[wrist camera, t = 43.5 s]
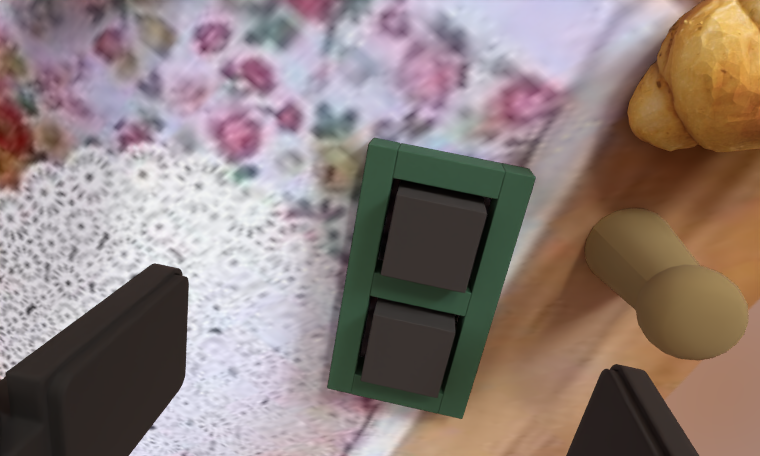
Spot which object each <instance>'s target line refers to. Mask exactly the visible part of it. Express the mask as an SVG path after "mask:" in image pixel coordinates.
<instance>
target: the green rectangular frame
mask: <svg viewBox="0 0 760 456" xmlns="http://www.w3.org/2000/svg"><path fill="white" fill-rule="evenodd" d="M394 178H395V179H399V180H404V181H409V182H414V183H419V184H424V185H429V186H434V187H439V188H443V189H448V190H453V191H458V192H463V193H468V194H473V195H478V196H483V197H488V198H492V200H491V203H490V207H489V211H488V214H487V218H486V221H485V225H484V229H483V232H482V236H481V240H480V243H479V247H478V251H477V254H476V258H475V262H474V265H473V269H472V272H471V276H470V279H469V281H468V285H467V289H466V292H465V293H461V292H457V291H452V290H447V289H443V288H438V287H434V286H429V285H424V284H420V283H415V282H410V281H406V280H401V279H396V278H392V277H387V276H383V275H381V270H382V264H383V260H380V259H379V260H378V258H379V253H380V248H381V243H382V238H383V232H384V227H385V222H386V217H387V212H388V207H389V201H390V196H391V191H392V186H393V181H394ZM535 179H536V177H535V176H534V175H533V173H532V172H531V171H530V169H528V168H523V167H518V166H513V165H508V164H503V163H502V164H501V163H498V162H493V161H488V160H483V159H478V158H473V157H468V156H463V155H458V154H453V153H448V152H443V151H438V150H433V149H428V148H423V147H418V146H413V145H408V144H403V143H401V144H400V143H398V142H393V141H388V140H383V139H378V138H373V139H372V141H371V142H370V143H369V145H368V150H367V156H366V162H365V168H364V174H363V180H362V186H361V191H360V197H359V203H358V209H357V215H356V221H355V227H354V233H353V239H352V245H351V250H350V256H349V262H348V268H347V274H346V280H345V286H344V292H343V298H342V304H341V309H340V315H339V321H338V327H337V333H336V339H335V345H334V351H333V357H332V363H331V368H330V374H329V380H328V386H327V388H328V389H333V390H337V391H341V392H346V393H351V394H354V395H358V396H362V397H367V398H371V399H376V400H380V401H384V402H389V403H393V404H398V405H402V406H406V407H411V408H415V409H420V410H424V411H428V412H433V413H438V414H442V415H446V416H451V417H455V418H459V419H462V418H463V415H464V412H465V409H466V405H467V402H468V399H469V395H470V392H471V389H472V386H473V382H474V379H475V376H476V373H477V369H478V366H479V363H480V359H481V356H482V353H483V350H484V346H485V343H486V340H487V336H488V333H489V330H490V327H491V323H492V320H493V317H494V313H495V310H496V307H497V304H498V300H499V297H500V294H501V290H502V287H503V284H504V281H505V277H506V274H507V271H508V267H509V264H510V261H511V258H512V254H513V251H514V248H515V244H516V241H517V238H518V235H519V231H520V228H521V225H522V221H523V218H524V215H525V212H526V208H527V205H528V202H529V198H530V195H531V192H532V189H533V185H534V182H535ZM371 296H373V297H378V298H382V299H387V300H391V301H396V302H401V303H405V304H410V305H414V306H419V307H424V308H428V309H433V310H437V311H442V312H447V313H451V314H456V315H460V316H459V320H458V323H457V327H456V331H455V336H454V340H453V344H452V347H451V351H450V354H449V358H448V362H447V365H446V369H445V373H444V376H443V380H442V384H441V387H440V391H439V394H438V398H434V397H430V396H425V395H421V394H416V393H412V392H407V391H403V390H399V389H394V388H390V387H385V386H381V385H376V384H372V383H368V382H363V381H361V375H362V370H363V365H364V360H365V357H361V356H360V351H361V346H362V341H363V336H364V330H365V325H366V320H367V315H368V310H369V305H370V299H371ZM359 356H360V357H359Z"/></svg>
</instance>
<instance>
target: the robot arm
mask: <svg viewBox="0 0 760 456" xmlns="http://www.w3.org/2000/svg"><path fill="white" fill-rule="evenodd" d="M188 288H189V282H188V278H187V277H185V276H182V271H181V270H180V269H179V268H174V267H169V266H165V265H160V264H152V265H150V266H149V267H147V268H146V269H145V270H143V271H142V272H141V273H139V274H138V275H137V276H135V277H134V278H133V279H131V280H130V281H129V282H127V283H126V284H125V285H123V286H122V287H120V288H119V289H118V290H116V291H115V292H114V293H112V294H111V295H110V296H108V297H107V298H106V299H104V300H103V301H102V302H100V303H99V304H98V305H96V306H95V307H94V308H92V309H91V310H89V311H88V312H87V313H85V314H84V315H83V316H81V317H80V318H79V319H77V320H76V321H75V322H73V323H72V324H71V325H69V326H68V327H67V328H65V329H64V330H63V331H61V332H60V333H58V334H57V335H56V336H54V337H53V338H52V339H50V340H49V341H48V342H46V343H45V344H44V345H42V346H41V347H40V348H38V349H37V350H36V351H34V352H33V353H31V354H30V355H29V356H27V357H26V358H25V359H23V360H22V361H21V362H19V363H18V364H17V365H15V366H14V367H13V368H11V369H10V370H9V371H7V372H6V377H5V378H4V379H2V380H1V381H0V456H129V455H130V453H131V452H132V451H133V449H134V448H135V447H136V446H137V444H138V443H139V442H140V440H141V439H142V438H143V436H144V435H145V434H146V433H147V431H148V430H149V429H150V427H151V426H152V425H153V423H154V422H155V421H156V420H157V418H158V417H159V416H160V414H161V413H162V412H163V410H164V409H165V408H166V407H167V405H168V404H169V403H170V401H171V400H172V399H173V397H174V396H175V395H176V394H177V392H178V391H179V389H180V388H181V386H182V384H183V381H184V378H185V370H186V342H187V315H188ZM566 456H699V455H698V453H697V452H696V450H695V448H694V447H693V445H692V444H691V442H690V440H689V439H688V438H687V436H686V434H685V433H684V431H683V429H682V428H681V426H680V425H679V423H678V422H677V420H676V418H675V417H674V415H673V414H672V412H671V411H670V409H669V408H668V406H667V404H666V403H665V401H664V399H663V398H662V396H661V395H660V393H659V392H658V390H657V388H656V387H655V385H654V384H653V382H652V381H651V379H650V377H649V376H648V374H647V373H646V372H645V371H644V370H641V369H636V368H632V367H627V366H622V365H618V364H616V365H613V366H612V367H611V368H610V370H609V369H604V370H603V371H602V372H601V374H600V377H599V379H598V381H597V384H596V386H595V389H594V391H593V393H592V396H591V398H590V400H589V403H588V405H587V408H586V410H585V412H584V415H583V417H582V420H581V422H580V424H579V427H578V429H577V431H576V434H575V436H574V439H573V441H572V443H571V446H570V448H569V451H568V453H567V455H566Z"/></svg>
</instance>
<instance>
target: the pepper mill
mask: <svg viewBox="0 0 760 456" xmlns="http://www.w3.org/2000/svg"><path fill="white" fill-rule="evenodd" d="M585 256H586V262H587V264H588V266H589V267H590V269H591V271H592V272H593V273H594V274H595V275H596V276H597V277H599V278H600V279H601V280H602V281H603V282H604V283H605V284H607V285H608V286H609V287H610V288H611V289H612V290H613V291H615V292H616V293H617V294H618V295H619V296H620V297H621V298H623V299H624V300H625V301H626V302H627V303H628V304H629V305H631V306H632V307H633V308H634V309H635V310H636V313H637V320H638V324H639V326H640V328H641V329H642V331H643V333H644V335H645V336H646V338H647V339H648V340H649V341H650V342H651V343H652V344H653V345H655V346H656V347H657V348H658V349H660V350H661V351H662V352H664V353H666V354H668V355H671V356H674V357H676V358H680V359H688V360H703V359H710V358H713V357H716V356H718V355H721V354H723V353H725V352H727V351H728V350H729V349H731V348H732V347H733V346H735V345H736V344H737V343H738V341H739V340H740V339H741V337H742V336H743V335H744V333H745V330H746V327H747V324H748V304H747V302H746V300H745V299H744V297H743V295H742V293H741V291H740V289H739V288H738V286H737V285H735V284H734V283H733V282H732V281H731V280H729V279H728V278H727V277H726V276H724V275H723V274H722V273H720V272H717V271H715V270H712V269H709V268H707V267H703V266H700V265H699V263H698V262H697V261H696V259H695V258H694V257H693V256H692V254H691V253H690V252H689V250H688V249H687V248H686V246H685V245H684V244H683V243H682V241H681V240H680V239H679V237H678V236H677V235H676V233H675V232H674V231H673V230H672V228H671V227H670V226H669V224H668V223H667V222H666V221H665V220H664V219H663V218H661V217H660V216H659V215H658V214H657V213H654V212H651V211H649V210H646V209H640V208H628V209H623V210H619V211H615V212H613V213H611V214H610V215H608V216H606V217H604V218H603V219H601V220H600V221H599V222H598V223H597V224H596V225H595V226H594V227H593V229H592V230H591V232H590V234H589V236H588V237H587V240H586V246H585Z"/></svg>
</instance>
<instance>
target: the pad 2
mask: <svg viewBox="0 0 760 456" xmlns="http://www.w3.org/2000/svg"><path fill="white" fill-rule="evenodd" d="M454 336H455V314H451V313H447V312H442V311H437V310H433V309H428V308H424V307H419V306H414V305H410V304H405V303H401V302H396V301H391V300H387V299H382V298H378V299H377V303H376V307H375V311H374V315H373V320H372V325H371V330H370V335H369V340H368V345H367V350H366V355H365V360H364V365H363V370H362V375H361V381H363V382H368V383H372V384H376V385H381V386H385V387H390V388H394V389H399V390H403V391H407V392H412V393H416V394H421V395H425V396H430V397H434V398H438V394H439V391H440V387H441V384H442V380H443V376H444V373H445V369H446V365H447V362H448V358H449V354H450V351H451V347H452V344H453V340H454Z"/></svg>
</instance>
